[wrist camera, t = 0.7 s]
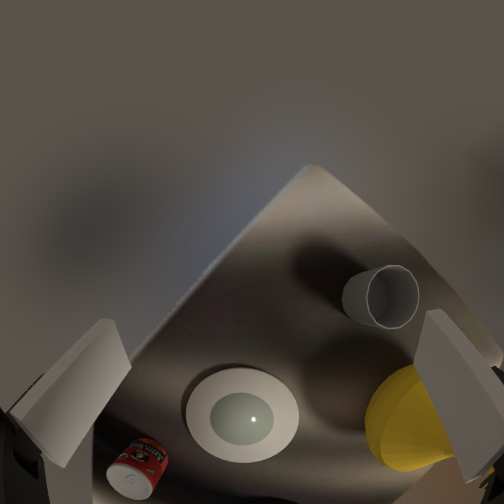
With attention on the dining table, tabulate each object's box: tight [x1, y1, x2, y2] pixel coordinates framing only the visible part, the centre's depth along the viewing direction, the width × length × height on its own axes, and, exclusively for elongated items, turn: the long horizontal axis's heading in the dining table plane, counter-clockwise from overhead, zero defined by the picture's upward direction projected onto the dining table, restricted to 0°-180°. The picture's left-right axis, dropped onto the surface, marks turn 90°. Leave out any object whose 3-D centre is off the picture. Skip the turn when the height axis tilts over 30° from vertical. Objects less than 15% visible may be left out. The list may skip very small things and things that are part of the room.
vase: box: [365, 364, 495, 474], centre depth 24 cm, size 18×18×30 cm
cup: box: [342, 265, 419, 329], centre depth 37 cm, size 8×8×10 cm
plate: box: [186, 367, 299, 463], centre depth 38 cm, size 18×18×1 cm
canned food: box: [106, 438, 168, 500], centre depth 31 cm, size 8×8×11 cm
